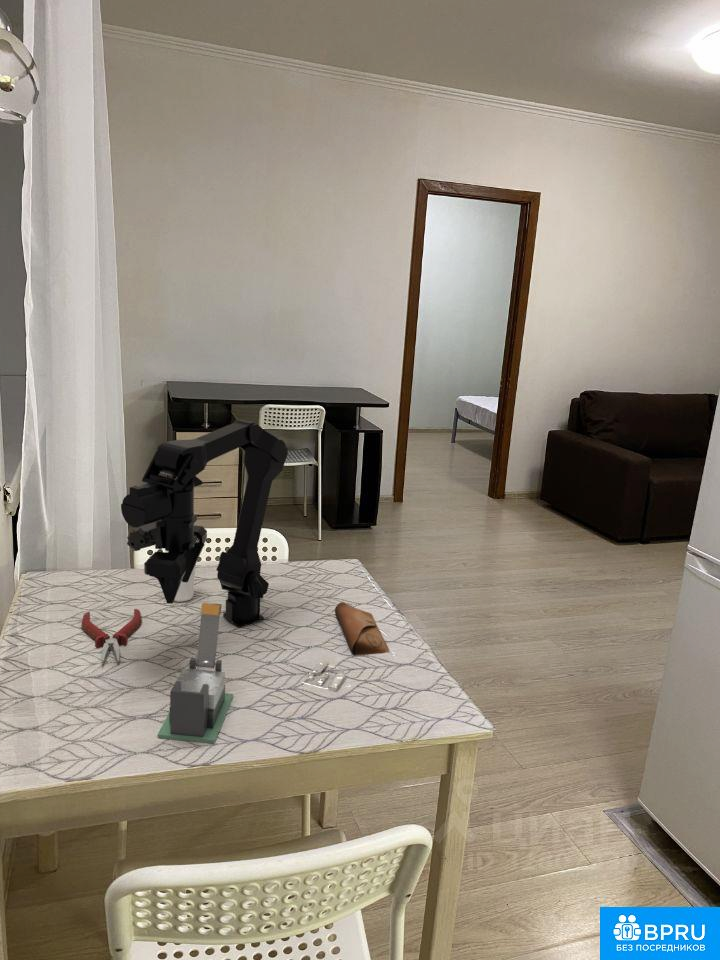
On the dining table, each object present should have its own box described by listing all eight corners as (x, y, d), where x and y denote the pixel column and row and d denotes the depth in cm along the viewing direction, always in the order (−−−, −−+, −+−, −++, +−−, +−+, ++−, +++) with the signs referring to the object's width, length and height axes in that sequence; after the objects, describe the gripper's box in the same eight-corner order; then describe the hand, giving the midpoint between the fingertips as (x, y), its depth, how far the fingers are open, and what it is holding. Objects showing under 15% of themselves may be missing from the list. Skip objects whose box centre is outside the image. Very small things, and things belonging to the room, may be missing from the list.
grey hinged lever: (197, 665, 121) (204, 602, 122) (215, 667, 121) (221, 604, 122) (195, 667, 119) (201, 603, 120) (212, 669, 119) (219, 605, 120)
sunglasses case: (393, 653, 142) (379, 627, 140) (362, 670, 141) (347, 645, 139) (371, 612, 159) (358, 589, 156) (343, 628, 158) (330, 605, 156)
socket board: (182, 691, 124) (182, 649, 121) (233, 696, 123) (234, 654, 121) (157, 737, 111) (157, 691, 109) (214, 743, 111) (215, 697, 109)
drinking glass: (182, 588, 164) (183, 526, 159) (203, 597, 160) (204, 534, 156) (158, 597, 158) (158, 534, 154) (179, 607, 154) (179, 542, 150)
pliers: (76, 672, 128) (76, 659, 127) (82, 621, 146) (82, 609, 146) (143, 666, 131) (143, 654, 131) (141, 617, 150) (141, 606, 149)
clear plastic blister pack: (335, 694, 127) (336, 687, 127) (300, 685, 130) (300, 678, 129) (351, 673, 135) (351, 666, 134) (317, 665, 137) (318, 658, 136)
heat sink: (184, 696, 121) (184, 666, 120) (224, 700, 121) (225, 670, 120) (169, 724, 114) (169, 692, 112) (212, 728, 113) (213, 697, 112)
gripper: (150, 493, 137) (151, 568, 141) (113, 526, 119) (115, 611, 123) (207, 498, 137) (207, 573, 141) (178, 532, 119) (179, 616, 123)
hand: (177, 592), depth 132 cm, fingers open, 9 cm apart
